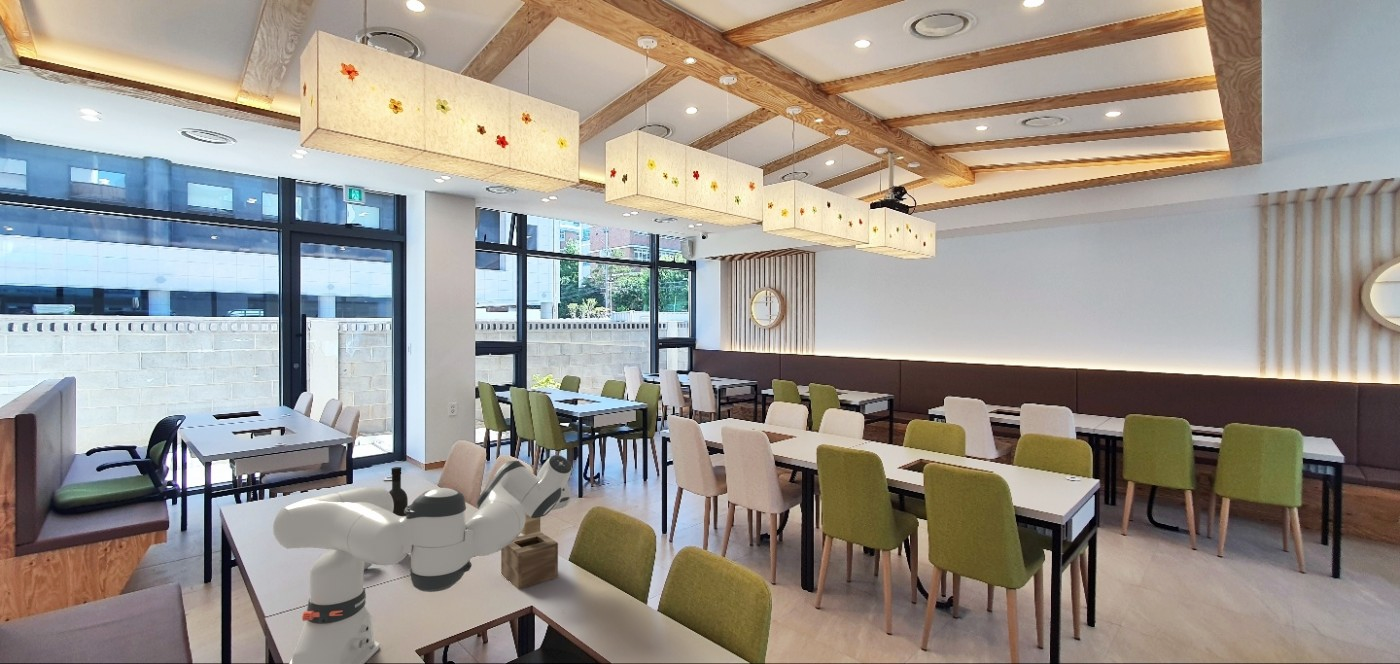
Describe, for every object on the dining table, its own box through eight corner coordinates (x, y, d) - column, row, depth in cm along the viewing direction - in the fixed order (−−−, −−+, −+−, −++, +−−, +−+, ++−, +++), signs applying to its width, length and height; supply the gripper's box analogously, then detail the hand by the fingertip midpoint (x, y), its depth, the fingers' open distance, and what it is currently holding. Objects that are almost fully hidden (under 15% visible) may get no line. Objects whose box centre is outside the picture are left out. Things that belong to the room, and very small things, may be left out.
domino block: (540, 531, 190) (540, 506, 190) (525, 535, 187) (525, 509, 187) (536, 528, 192) (536, 504, 192) (521, 532, 189) (521, 507, 189)
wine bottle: (392, 559, 202) (392, 470, 202) (384, 555, 206) (383, 468, 205) (409, 554, 207) (408, 467, 206) (400, 550, 210) (400, 465, 210)
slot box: (557, 577, 189) (557, 542, 189) (518, 589, 181) (518, 553, 181) (539, 564, 199) (539, 531, 199) (501, 575, 191) (501, 540, 191)
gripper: (513, 508, 174) (500, 533, 182) (577, 495, 187) (562, 519, 195) (507, 490, 177) (494, 514, 185) (570, 478, 191) (556, 502, 198)
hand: (530, 516), depth 190 cm, fingers closed on domino block, 5 cm apart
